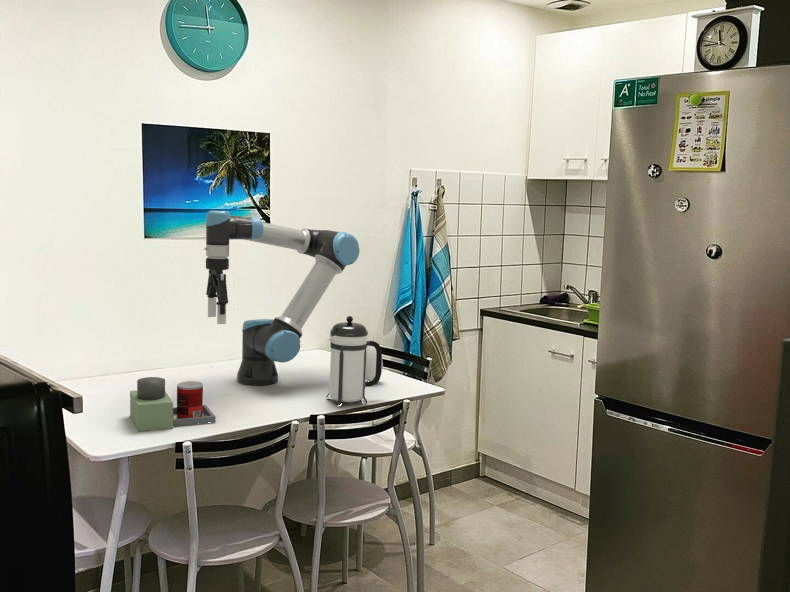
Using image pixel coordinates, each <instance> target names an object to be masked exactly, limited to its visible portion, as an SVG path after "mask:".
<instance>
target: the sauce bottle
mask: <svg viewBox="0 0 790 592" xmlns="http://www.w3.org/2000/svg"><path fill="white" fill-rule="evenodd" d="M372 341H374V342H375V336H372ZM383 367H384V362H383V361H382V368H381V375H382V372H383ZM375 374H376V349H375V347H374V346H367V349H366V371H365V381H366V382H367V381H372V380H373V379H374V377H375Z"/></svg>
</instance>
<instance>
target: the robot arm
mask: <svg viewBox="0 0 790 592" xmlns="http://www.w3.org/2000/svg"><path fill="white" fill-rule="evenodd" d="M205 229H206V230H205V232H206V233H205V237H206V238H205V241H206V243H205V247H204V249H203V250H204V251H205V256H206V258H205V269H206V270H208V279H207V286H206V292H205V294H206V297H207V318H216V317H217V318H216V323H217V325H226V323H227V304H229V296H228V288H227V274H226V273H224V271H226V270H227V271H228V270H229V268H230V259H229V258H228V257H230V240H244V241H250V242H253V243H254V242H255V243H260V244H264V245H269V246H274V247H279V248H285V249H289V250H290V249H291V250H295V251H297V253H298V254H302V255H306V256H310V257H312V258H314V259H315V263H314V264H313V266H312V268H311V269H310V271H309V272H308V273H307V275H306V276H305V278H304V280H303V281H302V283H301V285H300V286H299V288H298V289H297V290H296V292H295V294H294V295H293V296H292V299H291V300H290V302H289V303H288V305H286V308H285V309H284V311H283V313H282V314H281V315H280V316H276V317H274V318H273V319H272V318H266V319H265V318H261V319H258V318H257V319H247V320H244V322H243V324H242V329H241V331H242V337H241V338H242V343H241V344H242V345H241V346H242V348H241V352H242V353H241V354H242V359H241V363H240V365H239V368H238V371H237V373H236V381H237V382H238V383H240V384H243V385H248V386H265V385H266V386H267V384H268V385H272V383H273V384H275V382H276V383H278V381H279V373H278V369H277V367H276V363H277V362H278V363H287V362H290V361H292V360H294V358H296V356H297V355H298V354H299V352H300V351H301V350H300V349H301V338H302V337H303V330H302V329H303V327H304V325H305V324H306V322H307V321H308V319H309V317H310V316H311V315H312V313H313V311H314V309H315V308H316V306H317V305H318V303H319V301H320V300H321V298H322V297H323V295H324V293H325V292H326V290H327V289H328V287H329V286H330V284H331V282H333V279H334V278H335V277H336V275H340V274H342V273H343V272H344V270H345V268H346V267H347V266H350V265H353V264H354V263H356V261H357V260H358V258H359V255H360V250H361V248H360V245H359V241H358V239H357V238H356V237H355V236H354V235H353V234H351V233H347V232H345V231H336V230H335V231H334V230H328V229H309V228H305V227H304V228H302V229H296V228H291V227H287V226H283V225H278V224H273V223H269V222H263V220H262V219H261V218H260V217H253V216H237V215H231V214H230V211H227V210H209V211H208V212H207V213H206V219H205ZM275 362H276V363H275Z"/></svg>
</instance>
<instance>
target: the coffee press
mask: <svg viewBox="0 0 790 592" xmlns="http://www.w3.org/2000/svg"><path fill="white" fill-rule="evenodd" d="M353 321H354V318H353V316H351V315H349V316H347V317H346V321H345V322H338V323H336V324H334V325H333V326H332V328H331V329H330V331H329V332H330V333H329V335H328V337H327V342H329V341H330V345H329V346H330V362H329V363H330V364H329V366H330V367H329V392H328V394H327V395H326V396H325V398H326V397H328V398H331V399H332V400H334V401H337V402H336V406H337V405H340V404H341V403H343V404H344V403H354V402H360V403H361V402H362V401H363V400H364V403H365V404H366V403H367V404H368V400H367V398H366V396H365V395H366V394H365V390H366V388H369V387H373V386H375V385H377V384H378V383H379V382H380V379H381V376H382V374H381V368H382V362H383V352H382V351H383V350H382V347H381V345H380V344H379V343H378V342H376V341H375V340H374V341H373V340H367V339H368V337H367V336H368V335H369V332H368V329H367V327H366V326H365V325H363V324H362V323H358V322H353ZM369 346H374V347H375V349H376V374H375V377H374V379H373V380H372V381H369V382H367V381H366V379H365V371H366V350H367V348H368V347H369ZM362 399H363V400H362Z"/></svg>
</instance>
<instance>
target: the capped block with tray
mask: <svg viewBox="0 0 790 592" xmlns="http://www.w3.org/2000/svg"><path fill="white" fill-rule="evenodd" d="M136 381H137V384H136V390H130V391H129V393H130V394H129V402H130V403H129V405H130V406H129V411H130V412H129V413H130V414H129V415H130V419H131V418H132V419H131V421H132V423H133V425H134V426H135V429H136V432H138V431H141V432H146V431H145V430H151V431H156V430H155V429H162V430H165V429H164V428H172V429H174V427H173V426H176V427H183V426H182V425H187V426H191V425H190V424H197V425H201V424H200V423H208V422H217V421H216V415H215V414H214V413H213V412H212V410H211V409H210V408H209V406H207V404H203V413H204V415H205V414H206V415H207V416H206V415H205V416H202V417H193V418H182V419H177V418H175V417H174V415H173V414H176V415H177V406H176V407H174V402H173V400H172V399H171V397H170V396H169V394H168V393H167V391H166V379H165V378H163V377H158V376H149V377H141V378H138V379H137V380H136ZM198 423H199V424H198ZM208 424H209V423H208ZM153 429H154V430H153Z"/></svg>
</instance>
